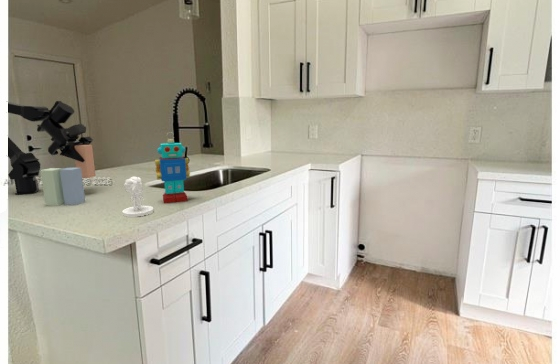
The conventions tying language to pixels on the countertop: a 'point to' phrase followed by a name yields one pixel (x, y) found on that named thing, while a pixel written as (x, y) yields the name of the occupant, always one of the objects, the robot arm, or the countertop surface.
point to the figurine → (136, 198)
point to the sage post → (52, 186)
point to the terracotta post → (86, 160)
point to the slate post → (72, 186)
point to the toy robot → (172, 171)
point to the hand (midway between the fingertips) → (87, 160)
